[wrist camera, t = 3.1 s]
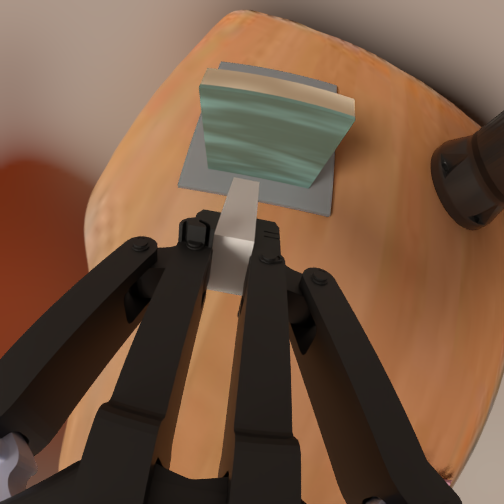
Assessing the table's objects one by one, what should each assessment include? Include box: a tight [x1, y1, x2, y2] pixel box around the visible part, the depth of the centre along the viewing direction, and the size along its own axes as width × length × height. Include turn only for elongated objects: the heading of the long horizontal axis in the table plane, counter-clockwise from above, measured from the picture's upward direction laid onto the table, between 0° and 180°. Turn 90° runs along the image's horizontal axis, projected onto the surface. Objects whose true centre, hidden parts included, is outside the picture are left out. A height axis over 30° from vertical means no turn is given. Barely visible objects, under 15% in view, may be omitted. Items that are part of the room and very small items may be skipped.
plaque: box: [199, 68, 355, 189], centre depth 26 cm, size 2×12×14 cm, turn 80°
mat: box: [178, 62, 337, 217], centre depth 34 cm, size 22×18×1 cm
